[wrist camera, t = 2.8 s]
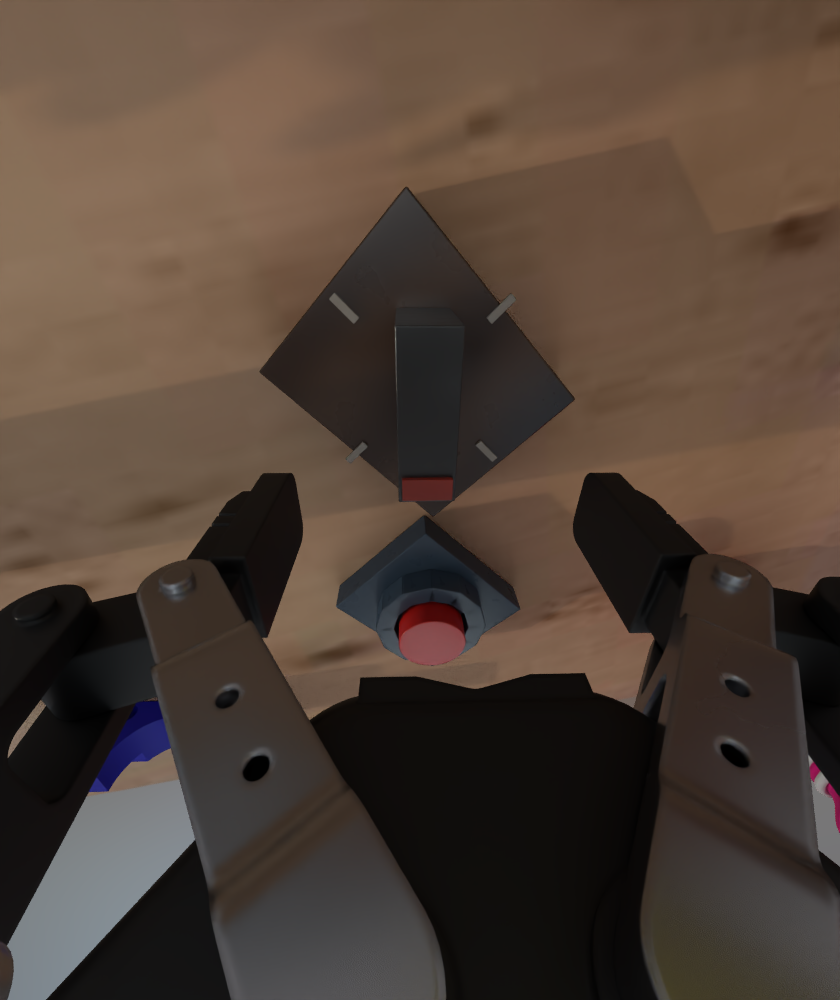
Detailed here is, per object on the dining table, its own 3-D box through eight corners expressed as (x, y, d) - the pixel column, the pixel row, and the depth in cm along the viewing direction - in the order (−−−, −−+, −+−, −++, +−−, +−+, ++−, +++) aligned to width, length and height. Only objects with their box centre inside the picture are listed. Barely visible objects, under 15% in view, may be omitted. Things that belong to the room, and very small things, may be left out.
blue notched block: (136, 728, 39) (97, 800, 34) (119, 702, 37) (73, 774, 32) (260, 725, 40) (240, 795, 35) (251, 698, 37) (228, 769, 32)
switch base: (268, 365, 22) (250, 382, 19) (415, 182, 18) (417, 170, 15) (423, 497, 26) (426, 525, 24) (565, 375, 23) (587, 392, 20)
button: (385, 624, 28) (384, 646, 26) (431, 590, 26) (433, 611, 25) (429, 652, 29) (431, 674, 28) (475, 622, 28) (479, 643, 26)
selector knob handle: (396, 307, 18) (394, 326, 13) (450, 307, 18) (466, 326, 13) (399, 452, 21) (398, 505, 17) (444, 451, 21) (455, 504, 17)
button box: (339, 585, 30) (331, 627, 27) (424, 514, 27) (427, 551, 24) (430, 644, 34) (433, 687, 31) (513, 588, 31) (527, 629, 28)
